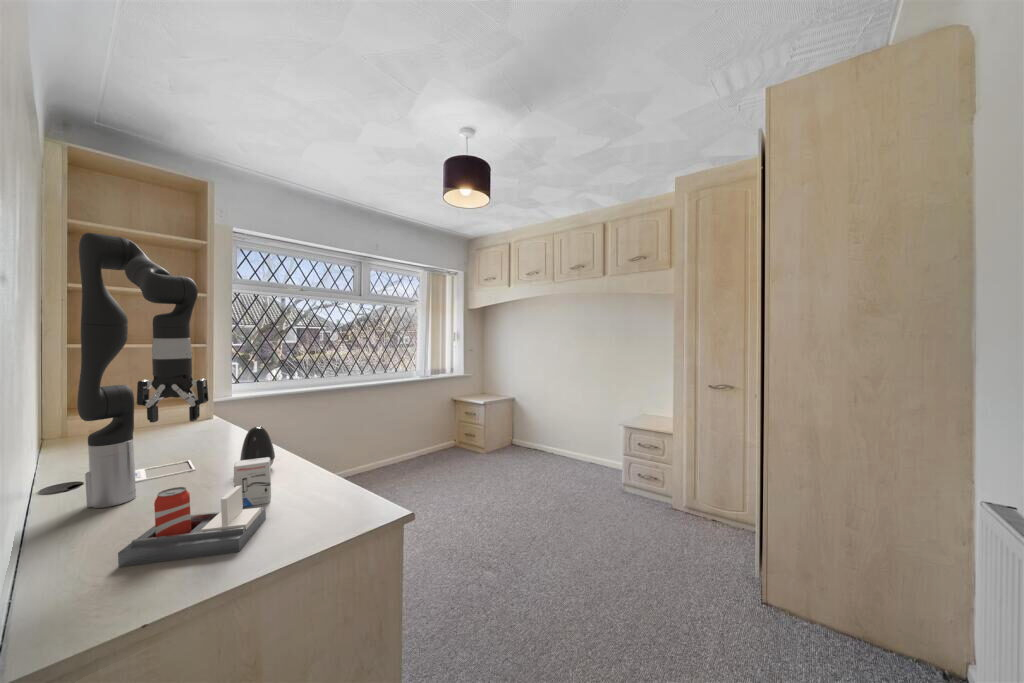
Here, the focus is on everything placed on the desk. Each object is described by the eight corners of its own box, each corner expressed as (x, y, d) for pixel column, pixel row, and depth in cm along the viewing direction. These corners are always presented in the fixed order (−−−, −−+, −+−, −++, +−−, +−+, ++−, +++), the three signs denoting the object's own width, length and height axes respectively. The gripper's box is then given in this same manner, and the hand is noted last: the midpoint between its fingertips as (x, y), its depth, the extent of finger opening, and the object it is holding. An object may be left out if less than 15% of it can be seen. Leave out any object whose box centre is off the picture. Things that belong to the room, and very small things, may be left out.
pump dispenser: (278, 463, 148) (276, 422, 147) (271, 473, 138) (269, 428, 138) (246, 467, 145) (244, 424, 144) (236, 477, 135) (234, 431, 134)
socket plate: (118, 567, 84) (117, 548, 83) (165, 530, 99) (164, 513, 99) (239, 551, 89) (238, 533, 88) (265, 518, 104) (265, 503, 104)
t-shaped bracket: (201, 534, 90) (200, 502, 90) (220, 516, 99) (219, 486, 98) (246, 529, 92) (244, 497, 92) (261, 512, 101) (260, 483, 100)
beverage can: (178, 534, 97) (176, 484, 96) (198, 538, 95) (196, 487, 94) (149, 548, 91) (146, 495, 90) (170, 552, 89) (167, 498, 89)
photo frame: (123, 471, 140) (189, 459, 153) (123, 474, 140) (190, 462, 153) (124, 482, 130) (195, 468, 142) (124, 486, 130) (195, 471, 142)
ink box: (233, 509, 110) (232, 466, 110) (236, 502, 114) (234, 461, 114) (270, 502, 114) (269, 461, 114) (271, 496, 118) (270, 456, 118)
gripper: (127, 357, 96) (129, 426, 96) (197, 357, 99) (198, 423, 99) (148, 355, 103) (150, 418, 104) (212, 355, 106) (214, 416, 107)
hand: (174, 421), depth 102 cm, fingers open, 8 cm apart
